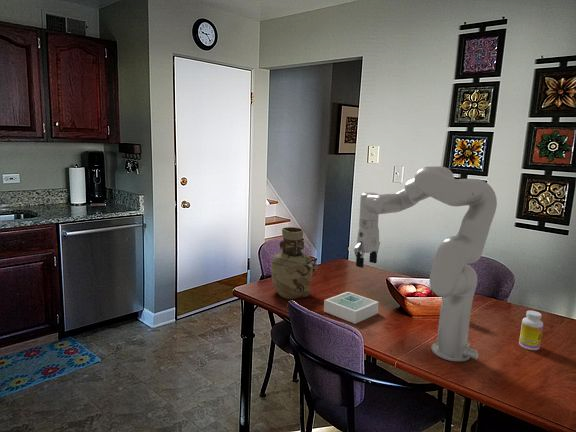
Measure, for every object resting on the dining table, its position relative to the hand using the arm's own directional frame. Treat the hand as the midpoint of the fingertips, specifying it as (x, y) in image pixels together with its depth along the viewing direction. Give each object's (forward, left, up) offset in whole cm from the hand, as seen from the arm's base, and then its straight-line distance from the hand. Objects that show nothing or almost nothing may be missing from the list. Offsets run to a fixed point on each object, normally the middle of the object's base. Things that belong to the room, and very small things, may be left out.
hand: (366, 264), depth 177 cm
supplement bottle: (-57, -22, -21) cm, 65 cm away
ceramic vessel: (+36, +6, -21) cm, 42 cm away
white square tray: (+4, +3, -21) cm, 21 cm away
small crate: (+4, +3, -20) cm, 21 cm away
